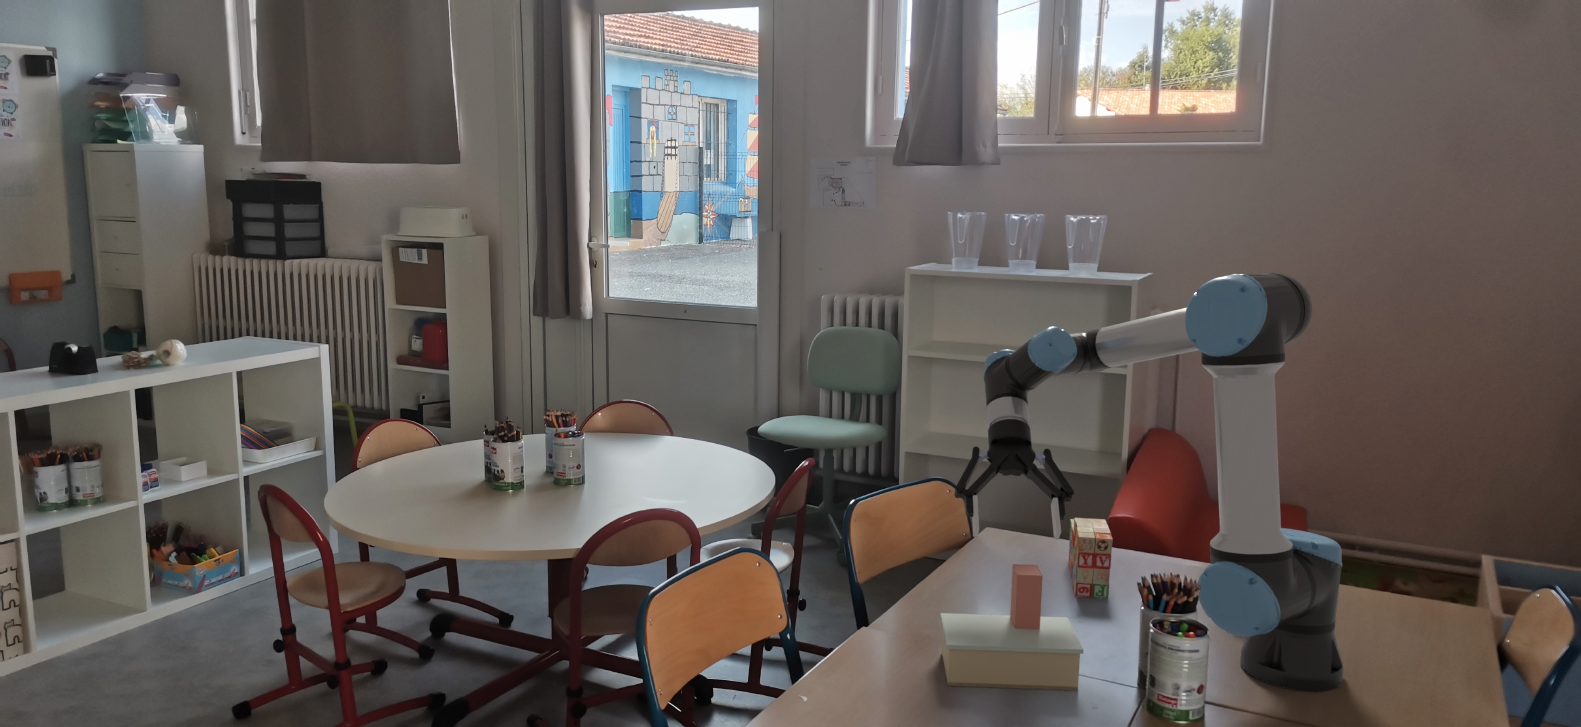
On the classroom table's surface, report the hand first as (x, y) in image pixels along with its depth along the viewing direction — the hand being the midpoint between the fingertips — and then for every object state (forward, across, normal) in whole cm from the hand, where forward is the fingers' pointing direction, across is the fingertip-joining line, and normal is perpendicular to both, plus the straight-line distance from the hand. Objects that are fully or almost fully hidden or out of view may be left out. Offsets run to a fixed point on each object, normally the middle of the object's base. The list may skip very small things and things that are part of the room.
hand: (1016, 534), depth 183 cm
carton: (+22, +2, -5) cm, 23 cm away
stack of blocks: (-9, -20, -37) cm, 43 cm away
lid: (+18, +2, -1) cm, 18 cm away
